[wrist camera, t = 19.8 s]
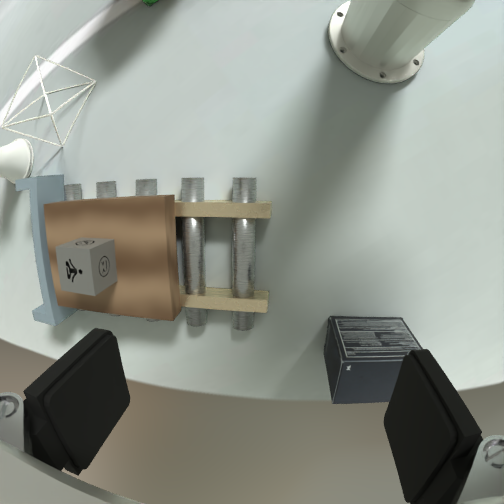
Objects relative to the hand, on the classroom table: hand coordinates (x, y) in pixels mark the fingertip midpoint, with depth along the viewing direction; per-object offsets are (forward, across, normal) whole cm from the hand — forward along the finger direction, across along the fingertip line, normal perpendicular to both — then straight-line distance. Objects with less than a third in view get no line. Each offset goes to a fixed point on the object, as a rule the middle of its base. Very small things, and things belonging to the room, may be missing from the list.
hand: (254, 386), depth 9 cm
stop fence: (+28, +33, +3) cm, 44 cm away
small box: (+29, -12, +14) cm, 34 cm away
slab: (+25, +21, +3) cm, 33 cm away
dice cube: (+22, +21, +3) cm, 31 cm away
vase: (+29, +42, -11) cm, 52 cm away
